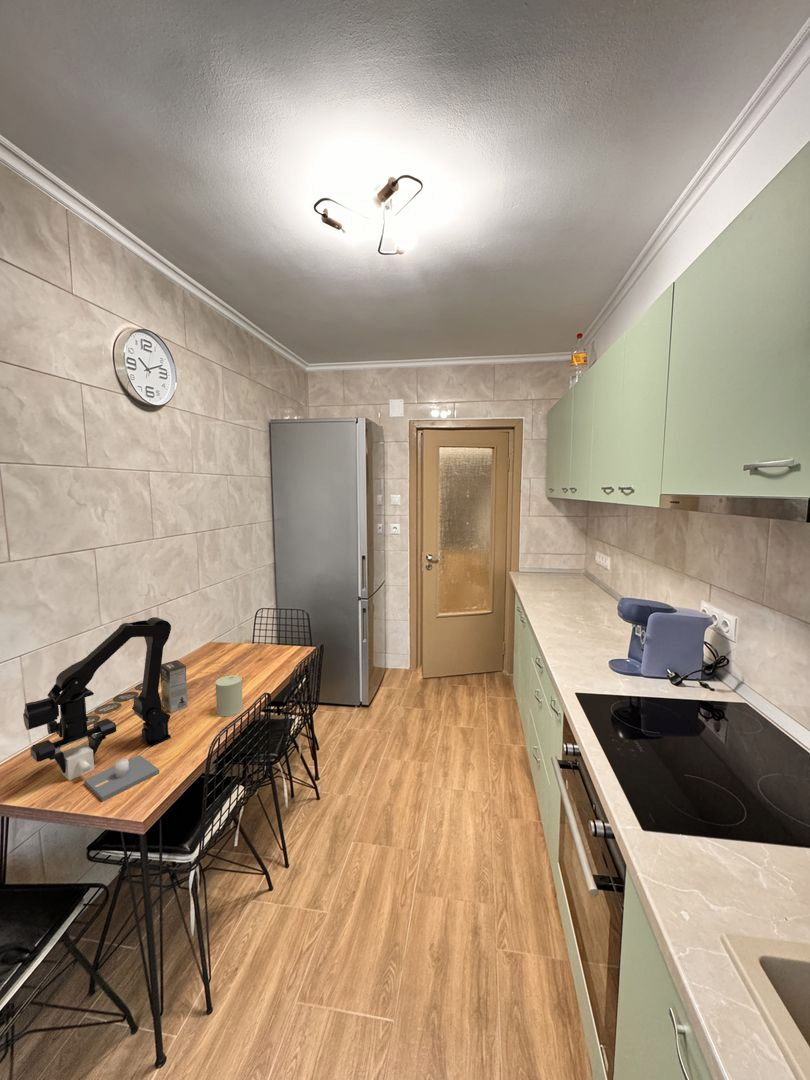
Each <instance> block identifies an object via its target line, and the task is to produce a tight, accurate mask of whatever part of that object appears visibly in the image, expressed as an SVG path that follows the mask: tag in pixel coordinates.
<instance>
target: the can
mask: <svg viewBox="0 0 810 1080" xmlns="http://www.w3.org/2000/svg"><path fill="white" fill-rule="evenodd" d="M214 684H215V701H216V711H215V712H216V714H217V716H220V717H232V716H235V715H238V714H240V713H241V712H242V711H243V710H244V705H243V704H244V703H243V678H242V676H240V675H235V674H233V675H226V676H222V677H220V678H218V679H216V680H215V683H214Z"/></svg>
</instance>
